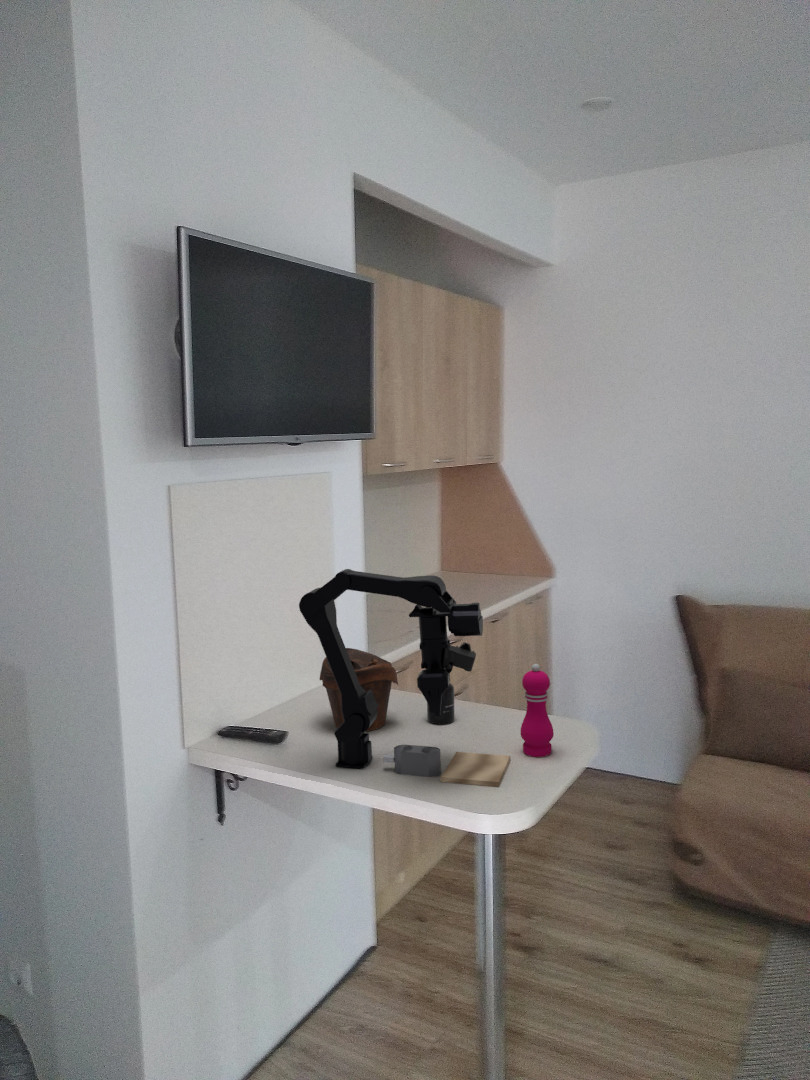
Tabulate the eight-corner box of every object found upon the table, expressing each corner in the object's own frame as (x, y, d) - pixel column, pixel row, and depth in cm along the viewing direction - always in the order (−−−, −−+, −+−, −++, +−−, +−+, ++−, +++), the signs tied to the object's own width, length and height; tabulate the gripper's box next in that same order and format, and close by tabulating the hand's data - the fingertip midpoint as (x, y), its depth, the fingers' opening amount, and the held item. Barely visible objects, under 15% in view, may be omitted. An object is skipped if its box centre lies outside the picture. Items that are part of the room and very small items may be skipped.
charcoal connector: (381, 772, 173) (380, 750, 172) (387, 765, 176) (386, 743, 176) (438, 777, 169) (437, 754, 168) (443, 770, 173) (442, 747, 172)
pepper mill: (560, 751, 180) (559, 663, 178) (539, 760, 176) (537, 670, 173) (535, 743, 186) (533, 657, 184) (514, 752, 181) (512, 664, 179)
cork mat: (440, 781, 167) (440, 777, 167) (456, 756, 180) (456, 751, 180) (498, 786, 163) (498, 782, 163) (510, 760, 177) (510, 755, 176)
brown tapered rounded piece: (389, 738, 192) (386, 664, 190) (310, 734, 197) (306, 661, 195) (409, 715, 209) (406, 646, 207) (335, 711, 214) (332, 644, 213)
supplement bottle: (452, 725, 200) (451, 677, 198) (425, 724, 201) (423, 677, 200) (456, 716, 206) (455, 670, 205) (430, 715, 208) (428, 669, 206)
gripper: (470, 645, 161) (475, 722, 163) (473, 625, 179) (478, 694, 181) (414, 648, 162) (420, 724, 164) (423, 627, 181) (428, 695, 182)
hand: (438, 708), depth 173 cm, fingers open, 9 cm apart
